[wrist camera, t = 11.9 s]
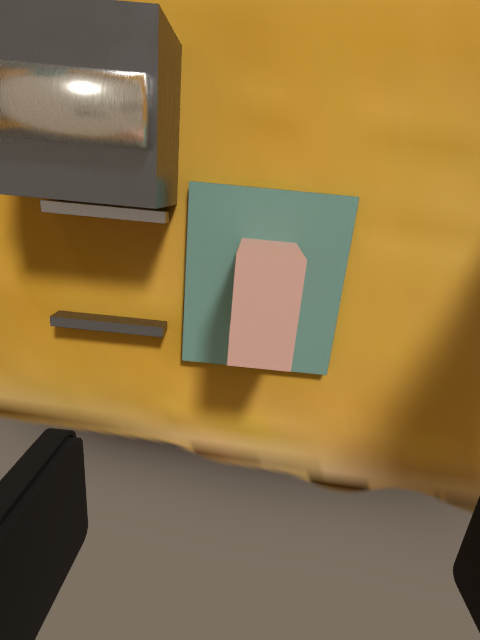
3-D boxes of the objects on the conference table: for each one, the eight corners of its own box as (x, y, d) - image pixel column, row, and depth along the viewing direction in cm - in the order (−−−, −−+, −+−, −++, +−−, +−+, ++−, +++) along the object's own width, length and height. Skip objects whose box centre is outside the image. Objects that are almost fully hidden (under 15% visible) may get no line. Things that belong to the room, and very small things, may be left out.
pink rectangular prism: (296, 243, 28) (308, 260, 21) (284, 331, 30) (291, 371, 24) (241, 237, 28) (235, 253, 21) (233, 326, 30) (226, 365, 24)
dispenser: (181, 45, 25) (146, -18, 17) (172, 331, 32) (144, 377, 24) (31, 32, 25) (-71, -37, 17) (53, 319, 32) (-13, 361, 24)
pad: (356, 196, 27) (359, 197, 27) (325, 370, 32) (326, 375, 31) (191, 181, 28) (189, 181, 27) (183, 356, 32) (182, 360, 32)
